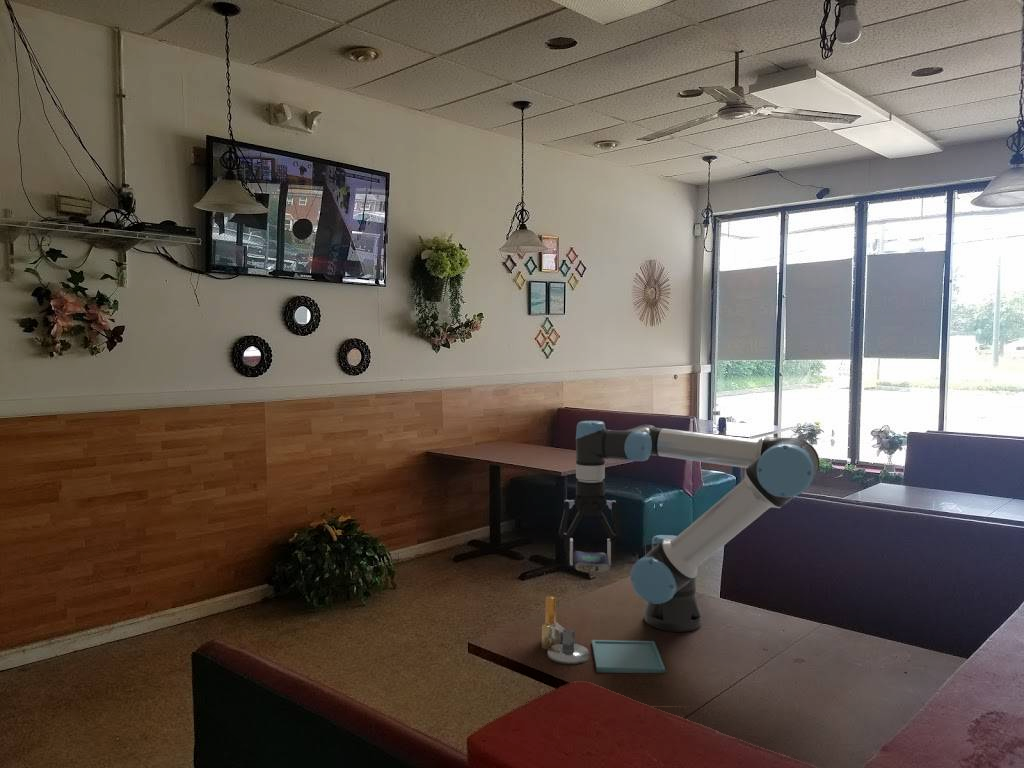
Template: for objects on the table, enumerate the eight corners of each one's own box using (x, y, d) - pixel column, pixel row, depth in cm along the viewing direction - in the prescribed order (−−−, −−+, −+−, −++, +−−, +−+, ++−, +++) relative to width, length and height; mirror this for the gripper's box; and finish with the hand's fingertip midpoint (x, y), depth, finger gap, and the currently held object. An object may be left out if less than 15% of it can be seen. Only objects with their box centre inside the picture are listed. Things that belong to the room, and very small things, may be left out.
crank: (569, 643, 182) (569, 607, 181) (559, 644, 181) (559, 608, 180) (552, 629, 190) (553, 595, 189) (543, 631, 189) (544, 596, 188)
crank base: (587, 646, 185) (587, 622, 184) (590, 664, 174) (590, 639, 174) (541, 645, 185) (541, 621, 185) (542, 663, 174) (542, 639, 174)
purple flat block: (607, 552, 196) (611, 566, 185) (607, 562, 196) (610, 577, 185) (572, 550, 196) (574, 564, 186) (572, 560, 196) (573, 575, 186)
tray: (654, 645, 185) (654, 641, 185) (665, 673, 170) (665, 668, 170) (591, 644, 186) (591, 639, 186) (596, 672, 170) (596, 667, 170)
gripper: (631, 477, 197) (630, 560, 198) (548, 476, 199) (548, 559, 200) (633, 482, 190) (633, 569, 191) (548, 482, 191) (548, 567, 192)
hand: (590, 564), depth 195 cm, fingers closed on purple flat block, 9 cm apart
